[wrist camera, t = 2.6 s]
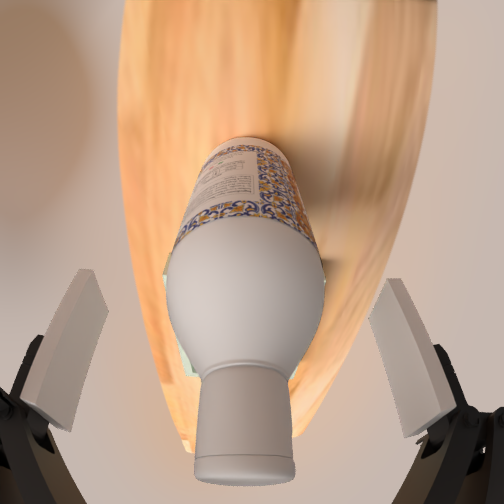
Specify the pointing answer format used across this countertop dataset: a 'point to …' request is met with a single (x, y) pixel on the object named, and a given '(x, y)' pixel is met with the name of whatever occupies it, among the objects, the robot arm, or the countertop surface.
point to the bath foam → (245, 309)
